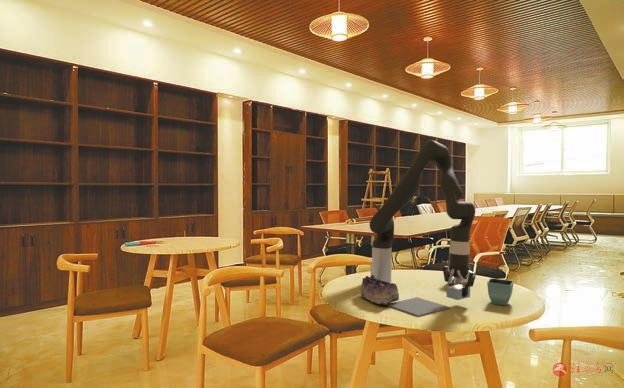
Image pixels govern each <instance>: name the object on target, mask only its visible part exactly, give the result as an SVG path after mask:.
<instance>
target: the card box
mask: <svg viewBox="0 0 624 388" xmlns="http://www.w3.org/2000/svg"><path fill="white" fill-rule="evenodd" d="M462 288H463V287H462V285H460V284H458V285H453V286H449V285H448V286H446V296H445V297H446V298H448V299H453V300H456V301H460V300H463V299H467V298H471V287H468V295H467V297H462Z"/></svg>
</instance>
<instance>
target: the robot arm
mask: <svg viewBox="0 0 624 388" xmlns="http://www.w3.org/2000/svg"><path fill="white" fill-rule="evenodd" d="M428 164H432V165H435V166H436V167H437V169H438V170H439V173H440V179H439V186H440V189H441V192H442V193H443V196H444V198H445V199H444V200H445V205H446V206H445V210H446V215H447V216H448V218H450V219H451V220H460V222H459V223H458V224H455V225H453V226H451V227H450V242H449V253H448V265H445V266H443V267H442V272H443V277H444V278H443V279H444V282H446V283H447V284H448V286H453V285H455V284H454V283H455V280H456V279H457V278H459V279H460V282H461V283H462V287H463V288H462V297H467V295H468V287H470V288H471V287H473V286H474V284H475V280H476V277H477V272H476V271H471V269H470V270H469V260H470V261H471V257H470V255H471V254H470V251H471V246H470V245H471V243H470V236H471V228H472V225H473V222H474V219H475V215H476V207H475V204H474V203H473V202H471V201H462V199H463V196H464V191H463V190H462V188H461V186H460V183H459V180H458V179H457V177H456V174H455V171H454V167H453V162H452V158H451V154H450V150H449V149H448V147H447V146H446V145H444V144H442V143H440V142H438V141H436V140H434V139H429V140H428V141H425V143H424V144H423V145H422V147H421V148H420V149H419V150H418V153H417V155H416V156H415V158H414V159H413V161H412V163H411V165H410V166H409V168H408V169H407V170H406V172H405V173H404V175H403V176H402V177H401V179H400V180H399V182H398V183H397V185H396V186H395V187H394V189H393V191H392V192H391V193H390V194H389V196H388V197H387V199H386V201H385V202H384V203H383V205H382V206H381V207H380V208H379V209H378V210H377V211H376V212H375V213H374V215H372V217H371V219H370V221H369V229H370V231H371V232H372V233H374V234H376V237H375V238H374V239H373V240H372V242H371V243H372V250H371V251H372V252H371V253H372V254H371V256H372V257H371V258H372V259H371V261H370V277H371V276H372V275H373V276H374V277H375V278H377V279H378V280H381V281H384V282H389V283H392V262H393V261H392V256H393V254H392V253H393V252H392V248H393V247H392V246H393V243H394V240H395V239H394V237H395V221H394V219H393V217H394V216H395V215H396V214H397V213H398V212H399V211H401V210H402V209H403V208H404V207H406V206H407V205H408V204H409V203H410V202H411V201H412V200H413V198H414V197H415V196H416V194H417V193H418V191H419V190H420V187H421V186H420V185H421V180H422V173H423V171H424V169H425V168H426V167H427V165H428ZM460 200H461V201H460ZM449 263H450V265H449ZM450 272H451V274H450ZM467 274H468V276H469V278H468V277H467ZM463 278H464V279H463Z"/></svg>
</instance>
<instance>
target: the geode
mask: <svg viewBox="0 0 624 388" xmlns="http://www.w3.org/2000/svg"><path fill="white" fill-rule="evenodd" d="M361 282H362V283H361V293H360V297H361V298H362V299H363V298H364V299H366V300H368V301H370V302H371V303H375V304H378V305H382V306H386V305H387V304H389V303H394V302H398V301H400V293H399V288H398V285H397V284H396V283H393V282H391V283H389V282H384V281H381V280H378V279H377V278H375V277H374V276H373V275H372V276H371V275H370V276H368V275H365V277H362V281H361Z"/></svg>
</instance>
